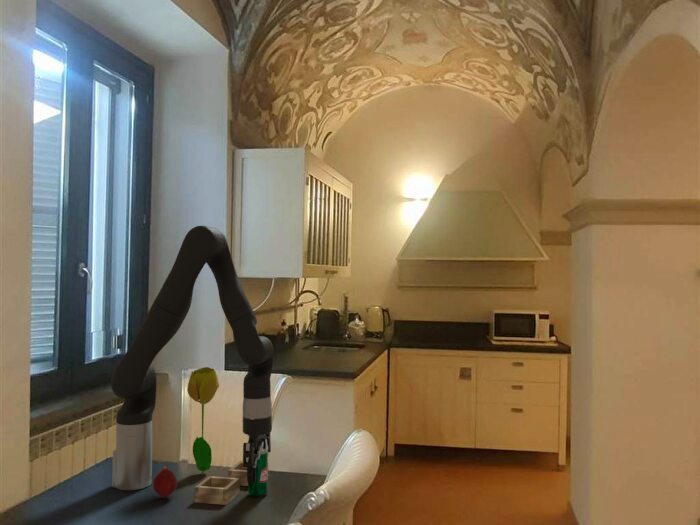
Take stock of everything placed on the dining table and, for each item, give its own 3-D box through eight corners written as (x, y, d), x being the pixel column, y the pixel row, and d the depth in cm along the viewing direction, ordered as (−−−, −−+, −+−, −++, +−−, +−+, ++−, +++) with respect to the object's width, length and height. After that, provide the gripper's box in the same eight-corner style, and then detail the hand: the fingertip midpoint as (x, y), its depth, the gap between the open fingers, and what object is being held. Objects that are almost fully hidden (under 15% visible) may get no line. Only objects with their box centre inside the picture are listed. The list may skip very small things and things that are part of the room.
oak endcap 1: (194, 502, 153) (194, 487, 153) (209, 490, 162) (209, 476, 162) (226, 504, 152) (226, 489, 152) (239, 492, 160) (239, 478, 160)
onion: (181, 496, 158) (181, 464, 158) (166, 503, 153) (166, 471, 153) (164, 492, 160) (164, 461, 160) (148, 499, 155) (148, 468, 155)
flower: (195, 468, 181) (195, 366, 181) (221, 469, 179) (222, 366, 180) (183, 477, 172) (184, 370, 173) (210, 478, 171) (211, 371, 172)
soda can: (263, 498, 156) (264, 451, 156) (245, 497, 157) (245, 450, 157) (270, 491, 161) (270, 446, 161) (252, 490, 162) (252, 444, 162)
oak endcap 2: (228, 484, 167) (228, 470, 167) (239, 474, 175) (239, 461, 175) (257, 486, 165) (257, 472, 165) (268, 476, 173) (268, 462, 173)
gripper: (253, 407, 167) (253, 467, 167) (233, 419, 153) (233, 485, 153) (279, 408, 165) (279, 469, 165) (261, 421, 152) (261, 487, 151)
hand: (257, 476), depth 159 cm, fingers open, 8 cm apart
